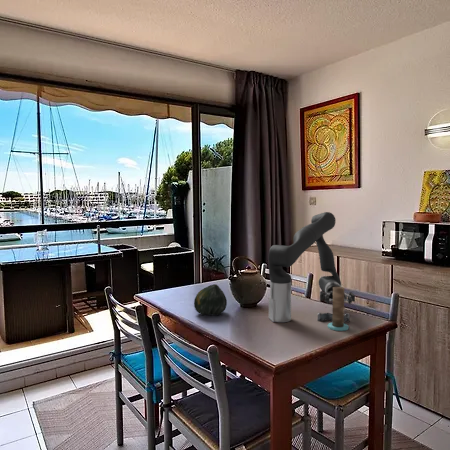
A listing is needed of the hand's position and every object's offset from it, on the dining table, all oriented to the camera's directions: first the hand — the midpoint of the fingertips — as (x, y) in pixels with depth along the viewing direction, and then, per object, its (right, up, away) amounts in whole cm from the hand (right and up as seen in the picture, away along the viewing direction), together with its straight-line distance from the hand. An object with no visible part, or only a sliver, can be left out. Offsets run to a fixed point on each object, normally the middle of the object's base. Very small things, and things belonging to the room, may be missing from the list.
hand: (339, 301), depth 159 cm
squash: (-54, -11, +22) cm, 59 cm away
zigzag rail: (+1, -11, +11) cm, 16 cm away
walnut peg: (0, -11, +3) cm, 11 cm away
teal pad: (0, -12, +3) cm, 12 cm away
